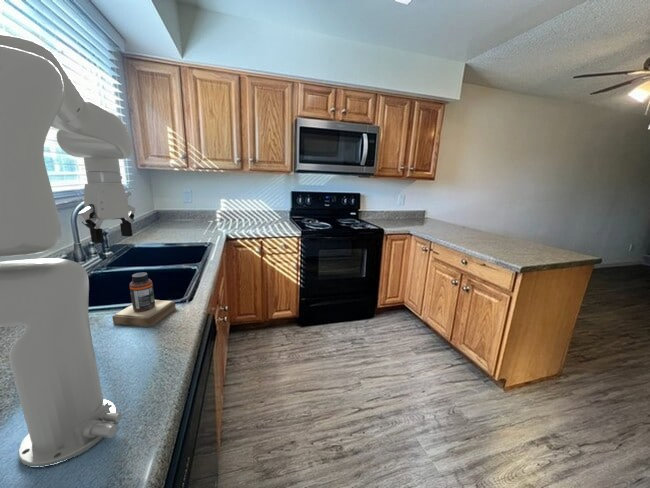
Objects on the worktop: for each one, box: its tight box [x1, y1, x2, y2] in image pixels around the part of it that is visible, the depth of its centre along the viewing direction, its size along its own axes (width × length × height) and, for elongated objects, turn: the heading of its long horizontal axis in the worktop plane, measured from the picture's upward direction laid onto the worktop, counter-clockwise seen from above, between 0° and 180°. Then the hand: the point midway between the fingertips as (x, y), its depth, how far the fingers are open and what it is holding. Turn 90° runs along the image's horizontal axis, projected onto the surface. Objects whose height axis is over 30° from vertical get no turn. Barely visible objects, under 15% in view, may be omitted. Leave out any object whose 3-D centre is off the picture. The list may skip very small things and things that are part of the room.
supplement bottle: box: [129, 272, 156, 312], centre depth 86 cm, size 6×6×11 cm
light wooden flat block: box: [112, 299, 177, 328], centre depth 88 cm, size 12×12×3 cm
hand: (113, 239), depth 80 cm, fingers open, 9 cm apart
